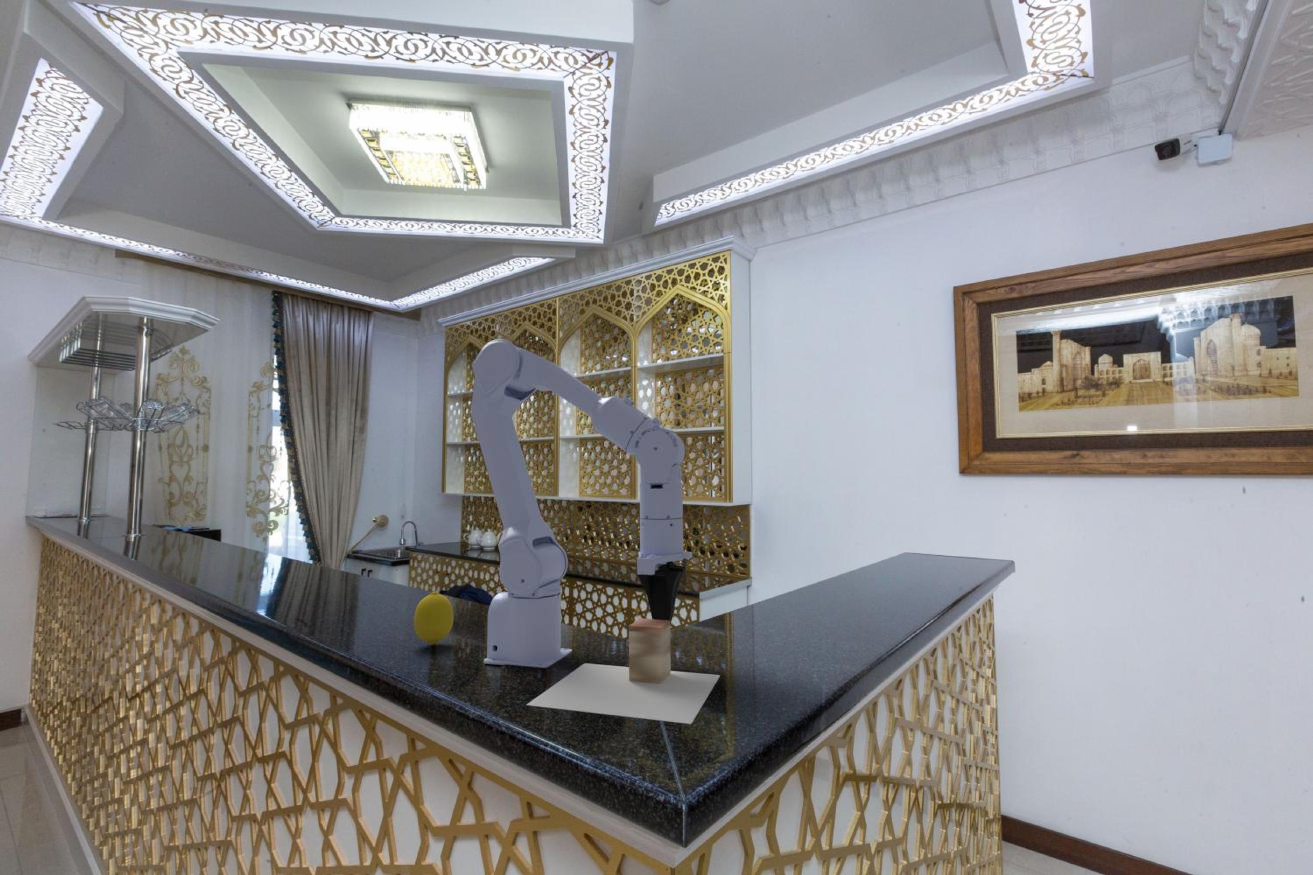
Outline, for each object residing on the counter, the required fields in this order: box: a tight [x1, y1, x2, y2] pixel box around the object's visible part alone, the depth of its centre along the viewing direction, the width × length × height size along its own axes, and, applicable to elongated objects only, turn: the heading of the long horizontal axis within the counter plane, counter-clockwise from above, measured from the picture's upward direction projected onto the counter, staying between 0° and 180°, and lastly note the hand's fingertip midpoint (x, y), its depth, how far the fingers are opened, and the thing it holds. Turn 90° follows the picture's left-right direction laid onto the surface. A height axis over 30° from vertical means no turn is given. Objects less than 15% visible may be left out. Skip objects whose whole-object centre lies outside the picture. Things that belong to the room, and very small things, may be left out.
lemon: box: [413, 591, 454, 645], centre depth 86 cm, size 6×6×8 cm
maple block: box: [628, 618, 672, 684], centre depth 69 cm, size 4×4×6 cm
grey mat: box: [526, 662, 721, 725], centre depth 65 cm, size 18×15×1 cm
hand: (662, 623), depth 75 cm, fingers closed
